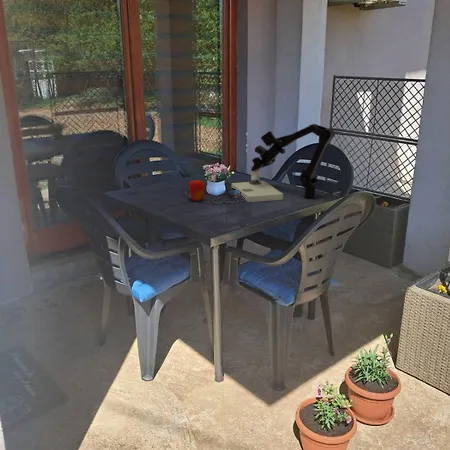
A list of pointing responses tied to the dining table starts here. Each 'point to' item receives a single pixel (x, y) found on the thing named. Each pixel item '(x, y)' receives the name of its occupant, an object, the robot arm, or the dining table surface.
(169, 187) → the dining table surface
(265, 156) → the robot arm
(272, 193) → the block
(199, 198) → the red cylinder
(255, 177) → the grey upright piece
